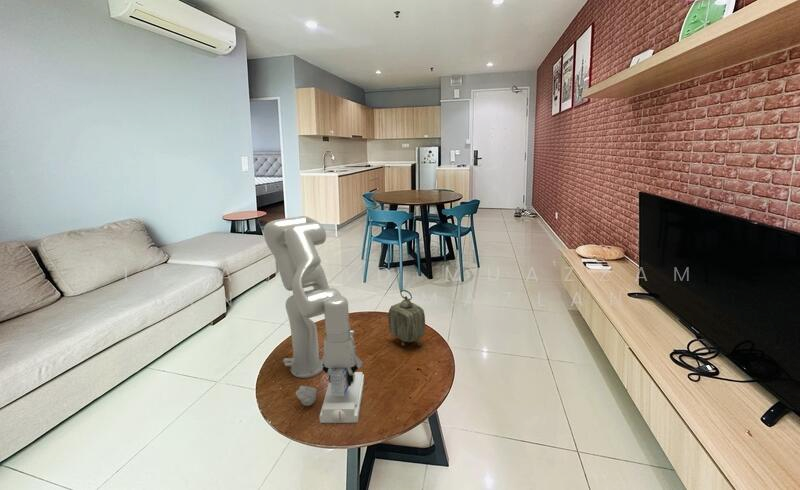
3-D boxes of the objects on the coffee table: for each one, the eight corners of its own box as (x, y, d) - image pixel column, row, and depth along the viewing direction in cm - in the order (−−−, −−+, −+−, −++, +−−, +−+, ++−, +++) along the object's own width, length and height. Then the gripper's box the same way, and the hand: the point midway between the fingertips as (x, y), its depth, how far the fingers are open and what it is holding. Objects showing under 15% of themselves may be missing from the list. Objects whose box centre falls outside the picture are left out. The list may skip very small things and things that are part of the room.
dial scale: (319, 423, 121) (318, 410, 119) (331, 380, 142) (331, 368, 141) (357, 423, 121) (356, 409, 119) (364, 380, 142) (363, 368, 141)
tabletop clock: (425, 346, 165) (425, 292, 158) (410, 354, 159) (409, 298, 153) (402, 334, 175) (401, 283, 169) (387, 341, 170) (386, 288, 163)
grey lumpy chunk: (295, 401, 131) (293, 384, 129) (316, 396, 134) (314, 378, 132) (298, 412, 126) (296, 394, 124) (319, 406, 129) (318, 388, 127)
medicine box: (344, 396, 123) (342, 373, 121) (331, 395, 124) (329, 371, 122) (351, 382, 131) (350, 359, 128) (339, 380, 132) (337, 358, 129)
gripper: (365, 328, 126) (368, 376, 131) (313, 329, 126) (318, 377, 131) (363, 339, 119) (366, 390, 123) (308, 340, 119) (313, 391, 123)
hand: (341, 383), depth 127 cm, fingers closed on medicine box, 5 cm apart
